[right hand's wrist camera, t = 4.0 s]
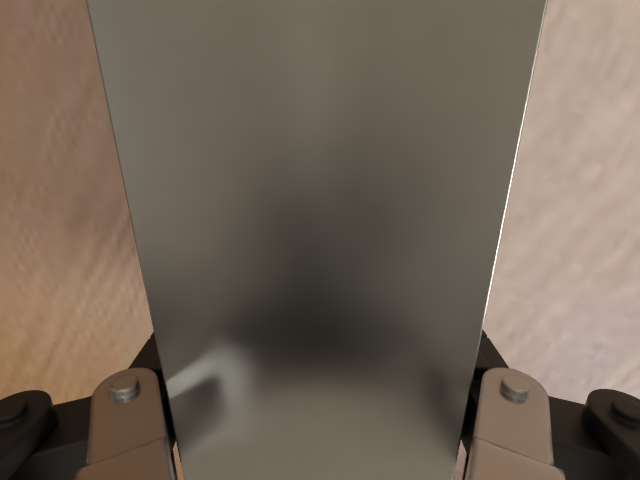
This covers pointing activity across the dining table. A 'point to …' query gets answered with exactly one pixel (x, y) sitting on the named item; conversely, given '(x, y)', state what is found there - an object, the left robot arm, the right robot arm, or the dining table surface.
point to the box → (317, 218)
